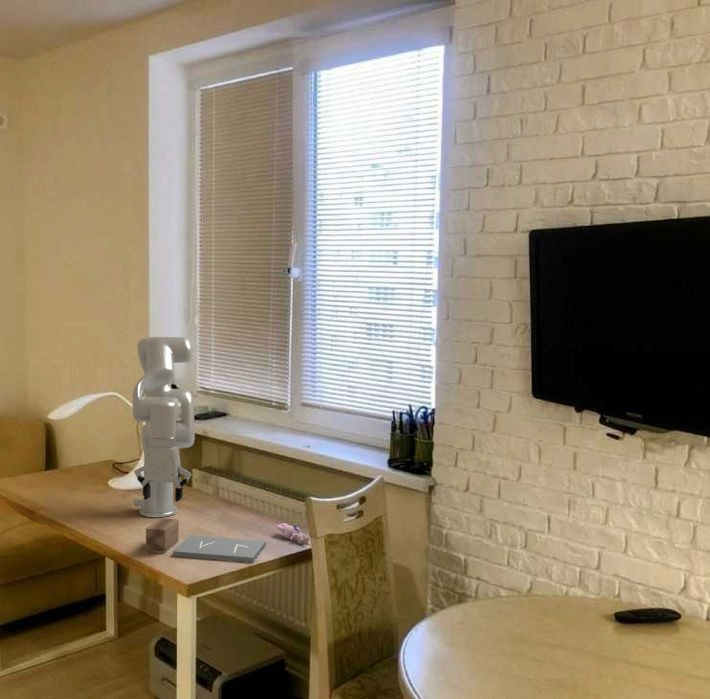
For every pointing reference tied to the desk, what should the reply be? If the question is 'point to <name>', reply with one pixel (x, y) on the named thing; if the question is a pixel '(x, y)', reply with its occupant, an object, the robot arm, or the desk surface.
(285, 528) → the pink plastic figure
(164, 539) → the block
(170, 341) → the robot arm
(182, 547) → the slate board
